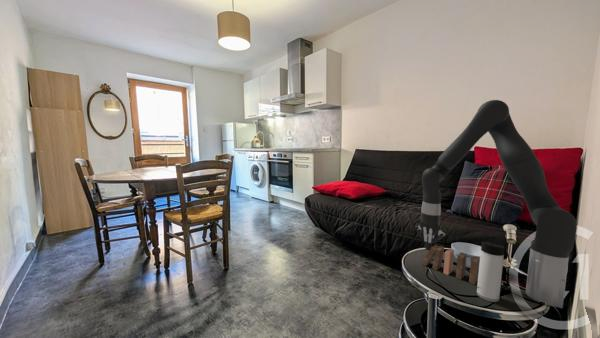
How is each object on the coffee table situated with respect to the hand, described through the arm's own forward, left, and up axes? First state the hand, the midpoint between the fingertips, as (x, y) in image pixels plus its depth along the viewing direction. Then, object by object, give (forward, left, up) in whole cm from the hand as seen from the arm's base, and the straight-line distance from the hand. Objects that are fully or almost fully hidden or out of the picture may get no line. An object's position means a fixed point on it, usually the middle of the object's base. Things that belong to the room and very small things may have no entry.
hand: (428, 249), depth 106 cm
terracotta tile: (-8, 0, -7) cm, 11 cm away
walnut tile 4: (-17, 0, -7) cm, 19 cm away
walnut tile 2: (-4, 0, -7) cm, 8 cm away
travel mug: (-23, +8, -7) cm, 26 cm away
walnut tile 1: (0, 0, -7) cm, 7 cm away
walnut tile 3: (-13, 0, -7) cm, 15 cm away
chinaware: (-12, -15, -7) cm, 21 cm away
